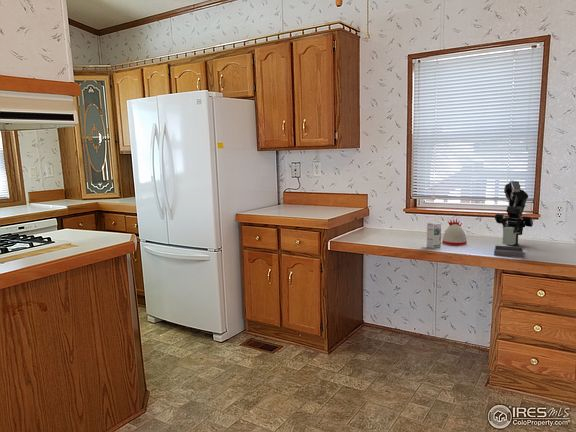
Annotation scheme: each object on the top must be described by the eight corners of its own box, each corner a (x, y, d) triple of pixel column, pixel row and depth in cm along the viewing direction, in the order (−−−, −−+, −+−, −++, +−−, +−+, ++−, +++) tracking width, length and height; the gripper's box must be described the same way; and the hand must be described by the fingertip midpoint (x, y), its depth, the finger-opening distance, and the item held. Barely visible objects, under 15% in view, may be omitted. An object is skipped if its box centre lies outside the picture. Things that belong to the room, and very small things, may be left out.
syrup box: (433, 248, 262) (433, 223, 260) (426, 246, 267) (426, 222, 265) (440, 247, 264) (441, 223, 262) (433, 245, 269) (434, 221, 267)
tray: (494, 249, 255) (495, 245, 255) (522, 251, 249) (522, 247, 249) (494, 255, 243) (494, 250, 243) (523, 257, 237) (523, 252, 237)
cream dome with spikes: (442, 240, 284) (443, 216, 282) (466, 241, 280) (467, 217, 277) (442, 244, 271) (443, 220, 269) (466, 246, 267) (467, 221, 264)
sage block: (502, 243, 246) (503, 227, 244) (506, 242, 249) (506, 226, 248) (512, 245, 242) (513, 228, 241) (515, 243, 245) (516, 227, 244)
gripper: (496, 199, 251) (487, 221, 245) (532, 202, 238) (523, 225, 232) (501, 211, 258) (492, 233, 252) (536, 215, 245) (528, 237, 239)
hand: (508, 232), depth 244 cm, fingers closed on sage block, 5 cm apart
